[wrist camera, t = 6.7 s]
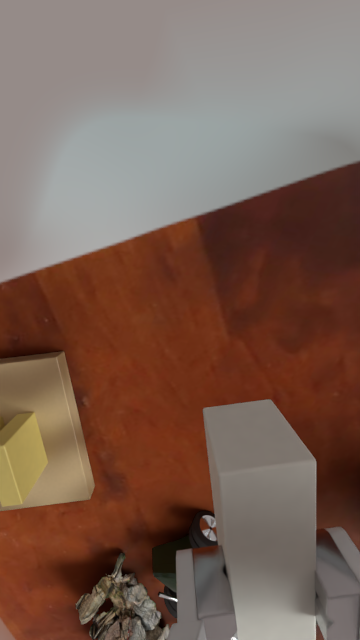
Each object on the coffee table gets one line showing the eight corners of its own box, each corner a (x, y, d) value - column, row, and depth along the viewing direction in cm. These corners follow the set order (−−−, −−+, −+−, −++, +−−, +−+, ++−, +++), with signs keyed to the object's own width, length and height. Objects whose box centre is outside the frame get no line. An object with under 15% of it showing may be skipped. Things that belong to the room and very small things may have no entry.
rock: (160, 543, 26) (160, 589, 23) (175, 641, 30) (177, 695, 26) (80, 554, 26) (66, 602, 22) (104, 651, 29) (95, 707, 26)
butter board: (-89, 369, 21) (-108, 377, 20) (64, 351, 21) (56, 357, 20) (-39, 502, 24) (-52, 518, 23) (95, 485, 24) (90, 499, 23)
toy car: (305, 603, 29) (332, 671, 24) (139, 568, 27) (133, 634, 22) (341, 543, 27) (378, 602, 22) (167, 500, 25) (166, 555, 20)
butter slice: (17, 414, 21) (-19, 448, 17) (34, 411, 21) (3, 445, 17) (31, 464, 22) (1, 507, 18) (48, 462, 22) (22, 504, 18)
